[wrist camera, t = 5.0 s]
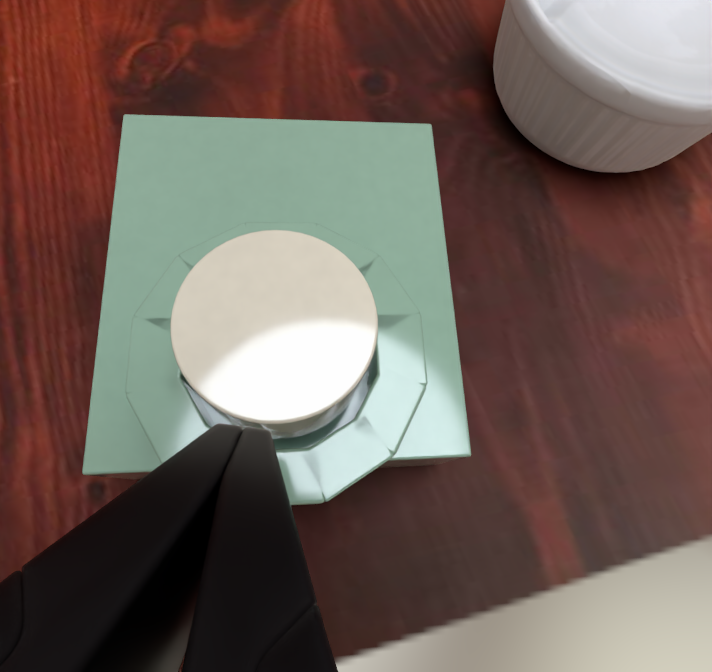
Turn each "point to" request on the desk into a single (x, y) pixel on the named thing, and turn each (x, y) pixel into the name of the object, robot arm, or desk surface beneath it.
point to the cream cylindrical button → (275, 331)
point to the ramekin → (607, 78)
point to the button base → (291, 213)
